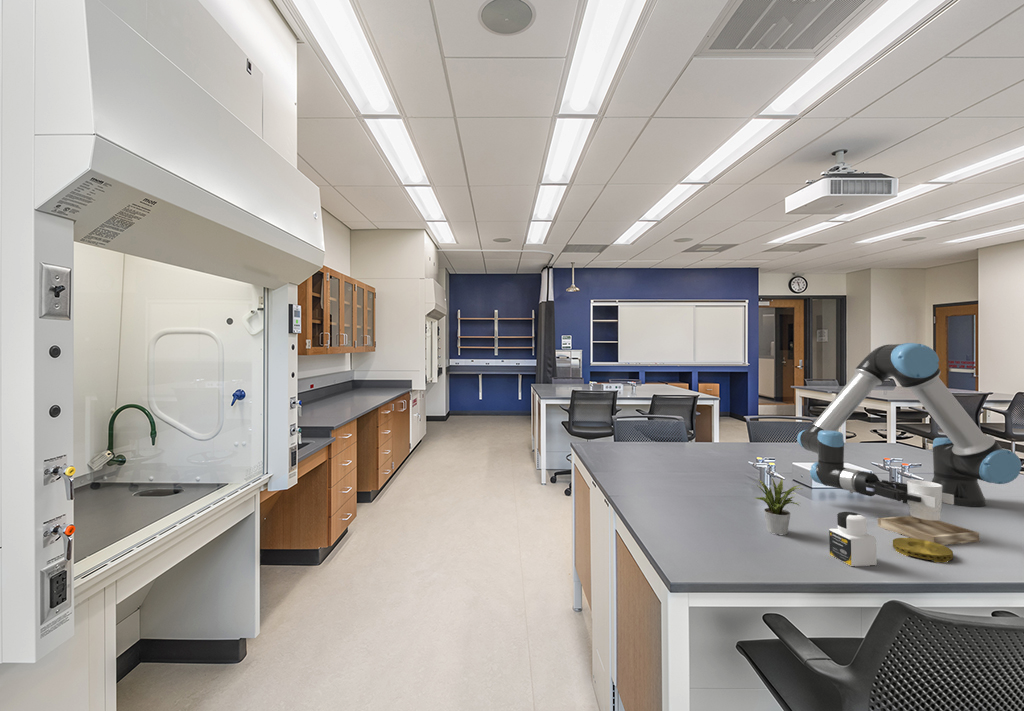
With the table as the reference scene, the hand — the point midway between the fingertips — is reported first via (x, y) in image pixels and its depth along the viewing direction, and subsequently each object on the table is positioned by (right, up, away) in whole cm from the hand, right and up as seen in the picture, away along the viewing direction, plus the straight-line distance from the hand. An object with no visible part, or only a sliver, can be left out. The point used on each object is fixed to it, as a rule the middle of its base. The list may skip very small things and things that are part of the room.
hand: (944, 501), depth 132 cm
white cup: (-2, -6, +4) cm, 8 cm away
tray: (-1, -11, +4) cm, 12 cm away
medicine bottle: (-37, -11, -14) cm, 41 cm away
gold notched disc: (-15, -11, -9) cm, 21 cm away
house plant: (-44, -12, +5) cm, 46 cm away
